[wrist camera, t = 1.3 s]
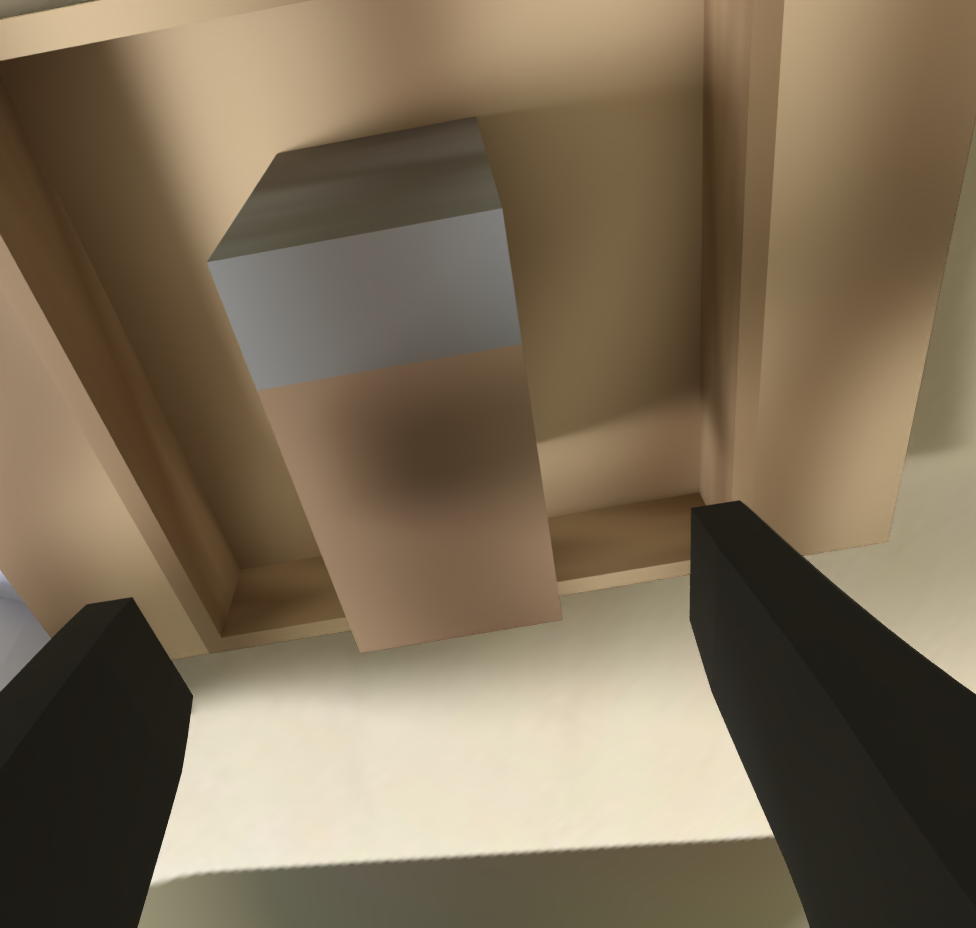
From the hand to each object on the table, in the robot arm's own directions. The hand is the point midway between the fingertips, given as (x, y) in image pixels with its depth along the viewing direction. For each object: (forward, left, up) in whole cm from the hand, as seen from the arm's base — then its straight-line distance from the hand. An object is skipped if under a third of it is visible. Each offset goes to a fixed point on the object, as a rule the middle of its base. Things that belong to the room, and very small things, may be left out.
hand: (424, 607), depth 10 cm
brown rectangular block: (0, 0, -9) cm, 9 cm away
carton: (0, 0, -10) cm, 10 cm away
